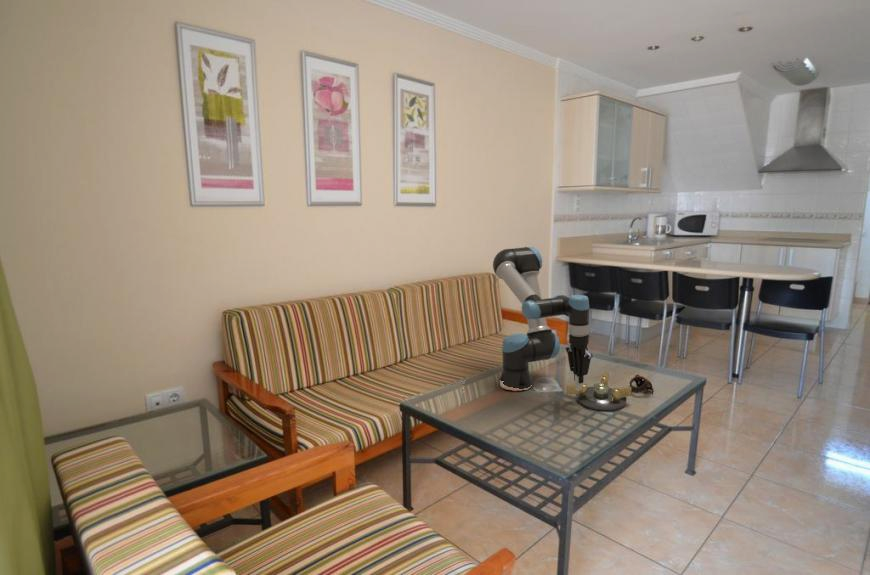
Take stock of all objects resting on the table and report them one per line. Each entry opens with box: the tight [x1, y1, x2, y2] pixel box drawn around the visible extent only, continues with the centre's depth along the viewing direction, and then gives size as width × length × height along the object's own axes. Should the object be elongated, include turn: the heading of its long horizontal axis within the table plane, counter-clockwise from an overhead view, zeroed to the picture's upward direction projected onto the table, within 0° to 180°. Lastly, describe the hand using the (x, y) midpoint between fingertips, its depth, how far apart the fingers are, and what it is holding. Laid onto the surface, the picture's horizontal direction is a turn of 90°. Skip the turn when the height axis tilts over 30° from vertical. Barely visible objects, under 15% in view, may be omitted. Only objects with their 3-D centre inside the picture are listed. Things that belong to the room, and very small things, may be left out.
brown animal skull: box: [629, 374, 655, 394], centre depth 206 cm, size 12×10×8 cm
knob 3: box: [612, 385, 632, 403], centre depth 193 cm, size 8×3×5 cm, turn 109°
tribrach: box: [575, 382, 627, 412], centre depth 199 cm, size 20×20×7 cm
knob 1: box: [566, 383, 588, 397], centre depth 199 cm, size 8×3×5 cm, turn 91°
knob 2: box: [600, 371, 610, 386], centre depth 208 cm, size 8×3×5 cm, turn 151°
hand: (578, 389), depth 194 cm, fingers closed
